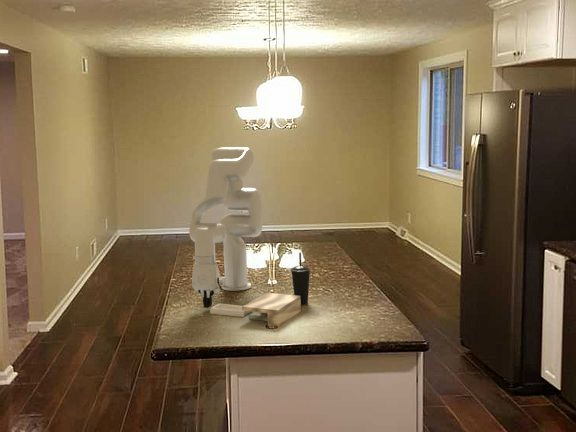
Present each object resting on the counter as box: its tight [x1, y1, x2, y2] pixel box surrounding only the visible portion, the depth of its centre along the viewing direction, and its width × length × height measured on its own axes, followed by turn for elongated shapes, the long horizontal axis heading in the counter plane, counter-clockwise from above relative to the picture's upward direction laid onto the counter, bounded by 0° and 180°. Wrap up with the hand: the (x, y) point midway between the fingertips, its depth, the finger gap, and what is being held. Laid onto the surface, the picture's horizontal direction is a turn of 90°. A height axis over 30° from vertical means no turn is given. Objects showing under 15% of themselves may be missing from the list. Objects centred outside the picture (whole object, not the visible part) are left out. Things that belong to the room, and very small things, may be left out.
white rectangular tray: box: [209, 303, 252, 318], centre depth 269 cm, size 14×7×2 cm, turn 66°
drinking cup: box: [290, 252, 311, 306], centre depth 277 cm, size 8×8×20 cm
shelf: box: [241, 292, 302, 328], centre depth 261 cm, size 14×20×6 cm
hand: (207, 306), depth 273 cm, fingers closed
